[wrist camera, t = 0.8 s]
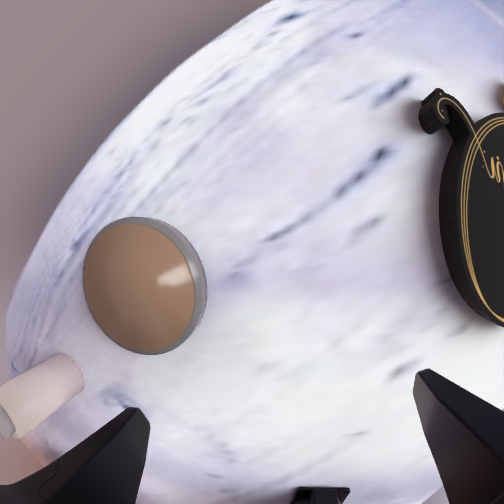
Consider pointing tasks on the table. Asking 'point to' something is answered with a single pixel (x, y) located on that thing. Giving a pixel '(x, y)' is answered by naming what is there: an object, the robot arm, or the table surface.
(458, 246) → the decorative sign
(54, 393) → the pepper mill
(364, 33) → the table surface
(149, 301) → the display plinth
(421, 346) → the table surface
